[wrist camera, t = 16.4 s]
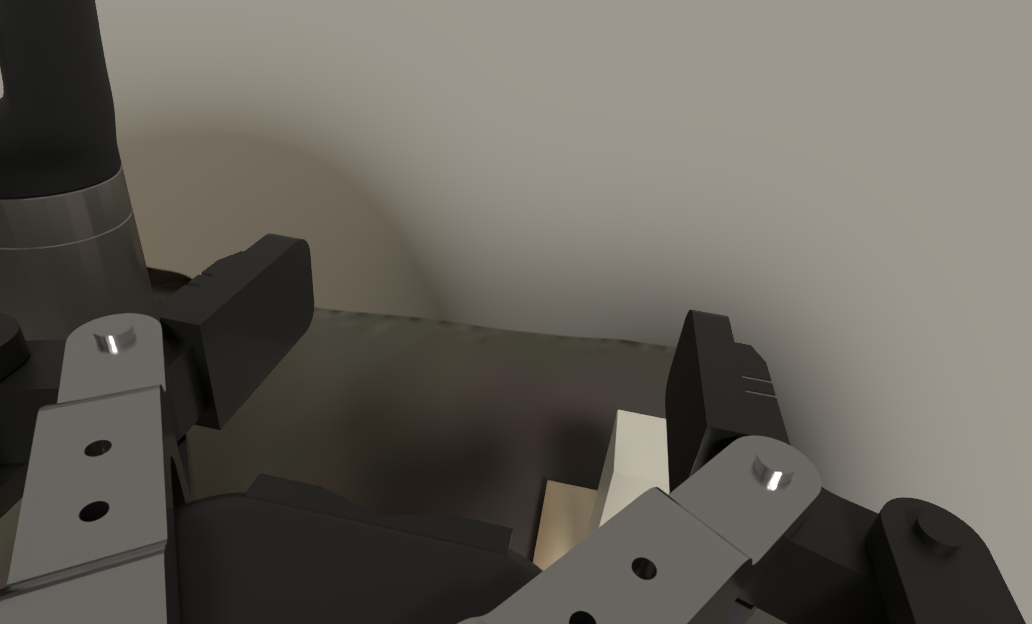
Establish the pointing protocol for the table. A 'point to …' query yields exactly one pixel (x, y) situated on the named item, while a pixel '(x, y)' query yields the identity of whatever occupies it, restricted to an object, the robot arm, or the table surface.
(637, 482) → the block
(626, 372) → the table surface
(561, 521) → the pin dock
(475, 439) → the table surface
